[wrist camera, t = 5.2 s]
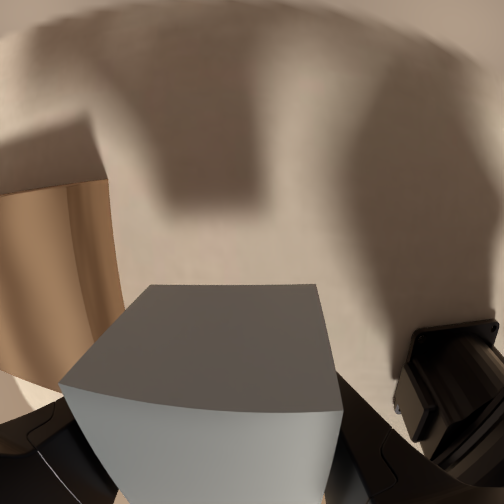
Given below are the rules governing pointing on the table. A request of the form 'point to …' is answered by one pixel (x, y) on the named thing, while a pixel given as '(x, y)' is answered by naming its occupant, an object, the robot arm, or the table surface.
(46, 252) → the block
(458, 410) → the robot arm
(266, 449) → the slate cube
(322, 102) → the table surface
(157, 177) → the table surface
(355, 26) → the table surface
